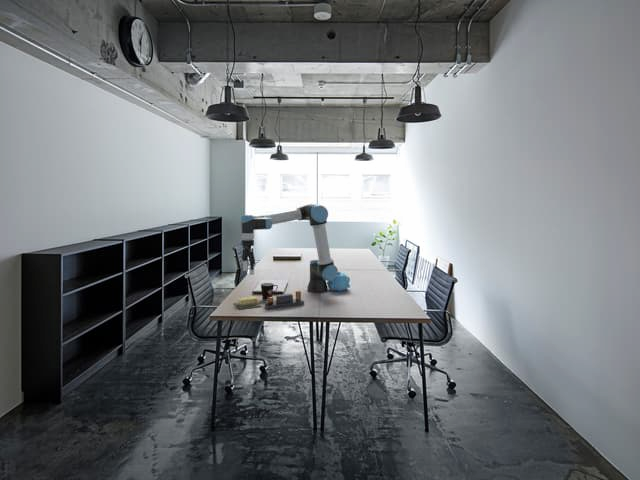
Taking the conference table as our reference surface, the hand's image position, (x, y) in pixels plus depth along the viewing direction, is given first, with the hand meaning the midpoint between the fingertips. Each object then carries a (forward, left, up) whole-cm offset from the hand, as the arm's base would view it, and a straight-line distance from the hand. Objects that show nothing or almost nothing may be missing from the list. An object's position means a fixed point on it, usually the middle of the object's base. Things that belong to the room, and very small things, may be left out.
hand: (248, 272), depth 239 cm
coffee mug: (-17, -8, -21) cm, 28 cm away
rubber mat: (+1, +1, -21) cm, 21 cm away
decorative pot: (-72, -10, -21) cm, 75 cm away
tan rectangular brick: (+1, +1, -20) cm, 20 cm away
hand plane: (-20, +12, -21) cm, 31 cm away
